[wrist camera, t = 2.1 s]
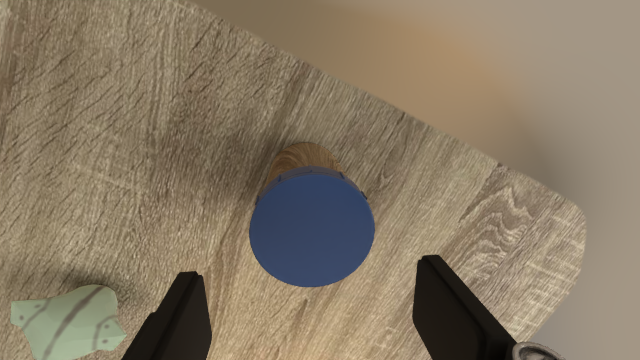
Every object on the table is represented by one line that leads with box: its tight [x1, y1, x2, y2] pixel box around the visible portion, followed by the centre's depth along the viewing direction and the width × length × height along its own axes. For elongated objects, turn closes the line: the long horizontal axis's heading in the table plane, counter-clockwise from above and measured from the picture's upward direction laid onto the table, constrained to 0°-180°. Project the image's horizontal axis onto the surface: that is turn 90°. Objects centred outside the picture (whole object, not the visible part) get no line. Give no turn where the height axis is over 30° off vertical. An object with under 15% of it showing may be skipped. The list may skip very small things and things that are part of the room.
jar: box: [265, 143, 346, 187], centre depth 21 cm, size 6×6×9 cm
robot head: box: [10, 284, 127, 360], centre depth 23 cm, size 8×4×7 cm, turn 63°
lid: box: [249, 165, 375, 287], centre depth 16 cm, size 7×7×2 cm
